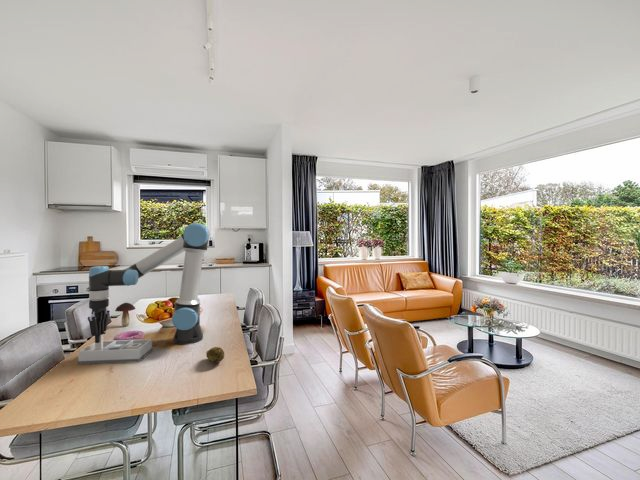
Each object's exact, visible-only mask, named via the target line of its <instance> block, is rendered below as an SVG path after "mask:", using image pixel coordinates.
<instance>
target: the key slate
mask: <svg viewBox="0 0 640 480" xmlns="http://www.w3.org/2000/svg"><path fill="white" fill-rule="evenodd" d="M124 345H125V344H114V345H113V346H111V347H110V348H109V350H116V349H120V348H121V347H123V346H124Z"/></svg>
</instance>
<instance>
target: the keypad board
mask: <svg viewBox="0 0 640 480" xmlns="http://www.w3.org/2000/svg"><path fill="white" fill-rule="evenodd" d="M135 343H143V345H142V346H141V347H139V348H138V349H127V347H128V346H130V345H131V344H135ZM114 344H125V345H124V346H123V347H121V348H120V349H116V350H109V348H110V347H111V346H113V345H114ZM103 347H104V348H102V349H101V350H94V349H95V342H93V343H91V344H89V345H87V346H85V347H84V348H82V349H80V350H78V353H77V354H78V360H77V365H86V364H87V365H90V364H113V363H114V364H115V363H116V364H117V363H135V362H136V363H138V362H140V361H141V360H143V359H144V358H145V357H147V355H149V354H150V353H152V351H153V350H154V349H153V339H151V338H149V339H145V338H144V339H142V340H113V339H112V340H103Z"/></svg>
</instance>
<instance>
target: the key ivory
mask: <svg viewBox="0 0 640 480" xmlns="http://www.w3.org/2000/svg"><path fill="white" fill-rule="evenodd" d="M142 345H143V343H135V344H131V345H130V346H128V347H127V349H138V348H139V347H141V346H142Z"/></svg>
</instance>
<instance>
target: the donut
mask: <svg viewBox="0 0 640 480" xmlns="http://www.w3.org/2000/svg"><path fill="white" fill-rule="evenodd" d="M144 332H145V331H141V330H129V331H124V332H121V333H119V334H116V335H115V336H114V337H113V339H112V340H142V339H145V333H144Z"/></svg>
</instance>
